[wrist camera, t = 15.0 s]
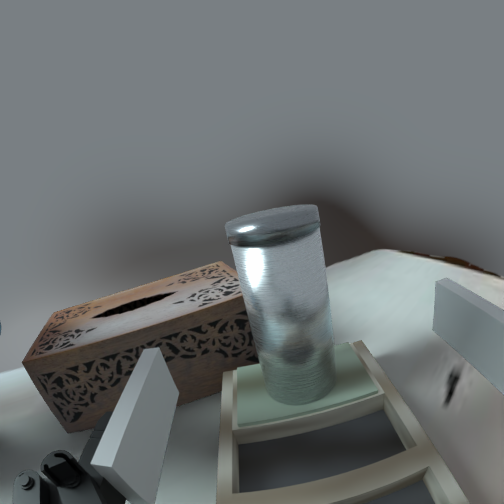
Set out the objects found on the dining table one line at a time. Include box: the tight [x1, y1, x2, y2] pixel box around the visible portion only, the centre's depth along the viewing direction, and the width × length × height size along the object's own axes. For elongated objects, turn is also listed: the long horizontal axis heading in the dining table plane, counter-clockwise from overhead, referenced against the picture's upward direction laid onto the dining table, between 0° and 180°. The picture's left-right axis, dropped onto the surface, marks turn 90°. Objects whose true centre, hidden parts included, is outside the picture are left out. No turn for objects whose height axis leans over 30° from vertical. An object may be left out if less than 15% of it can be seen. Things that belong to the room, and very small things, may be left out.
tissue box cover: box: [22, 261, 260, 433], centre depth 31 cm, size 26×14×10 cm, turn 113°
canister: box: [225, 205, 337, 406], centre depth 21 cm, size 6×6×14 cm
